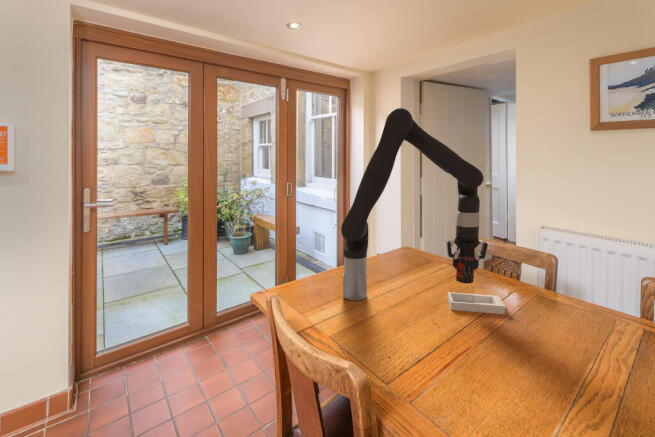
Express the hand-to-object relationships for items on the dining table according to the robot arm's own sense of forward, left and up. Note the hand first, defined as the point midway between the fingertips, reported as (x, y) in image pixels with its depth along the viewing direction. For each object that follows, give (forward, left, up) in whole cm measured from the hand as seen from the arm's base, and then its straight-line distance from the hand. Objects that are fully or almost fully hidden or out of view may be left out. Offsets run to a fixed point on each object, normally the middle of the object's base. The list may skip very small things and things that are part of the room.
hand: (465, 268), depth 117 cm
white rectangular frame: (+4, 0, -15) cm, 15 cm away
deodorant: (0, 0, -5) cm, 5 cm away
